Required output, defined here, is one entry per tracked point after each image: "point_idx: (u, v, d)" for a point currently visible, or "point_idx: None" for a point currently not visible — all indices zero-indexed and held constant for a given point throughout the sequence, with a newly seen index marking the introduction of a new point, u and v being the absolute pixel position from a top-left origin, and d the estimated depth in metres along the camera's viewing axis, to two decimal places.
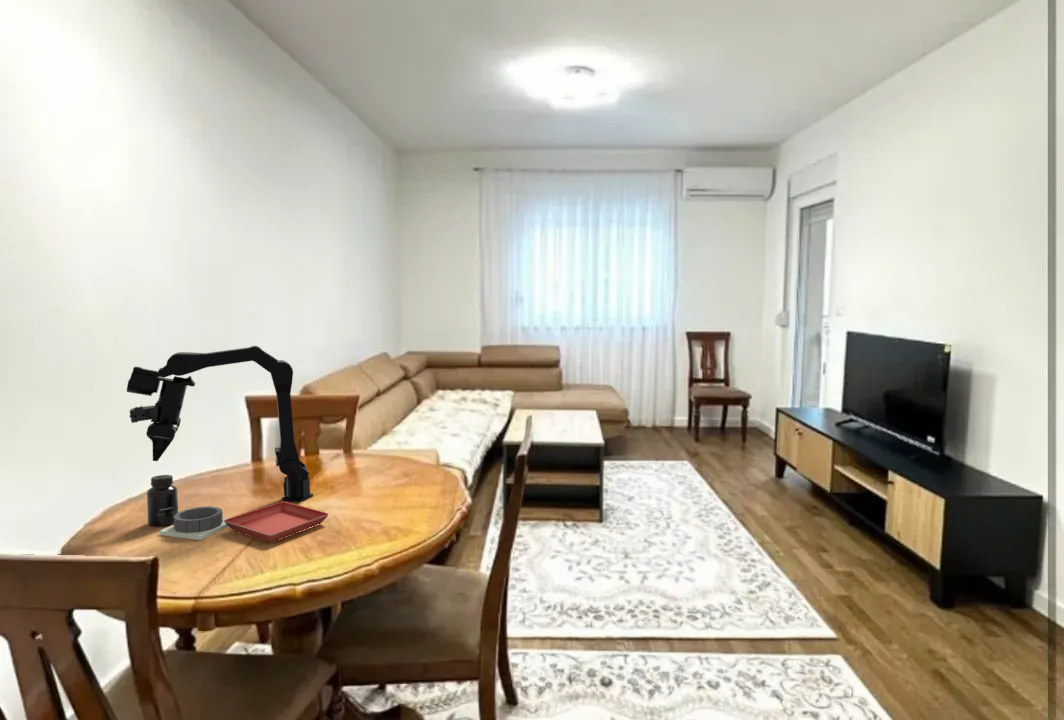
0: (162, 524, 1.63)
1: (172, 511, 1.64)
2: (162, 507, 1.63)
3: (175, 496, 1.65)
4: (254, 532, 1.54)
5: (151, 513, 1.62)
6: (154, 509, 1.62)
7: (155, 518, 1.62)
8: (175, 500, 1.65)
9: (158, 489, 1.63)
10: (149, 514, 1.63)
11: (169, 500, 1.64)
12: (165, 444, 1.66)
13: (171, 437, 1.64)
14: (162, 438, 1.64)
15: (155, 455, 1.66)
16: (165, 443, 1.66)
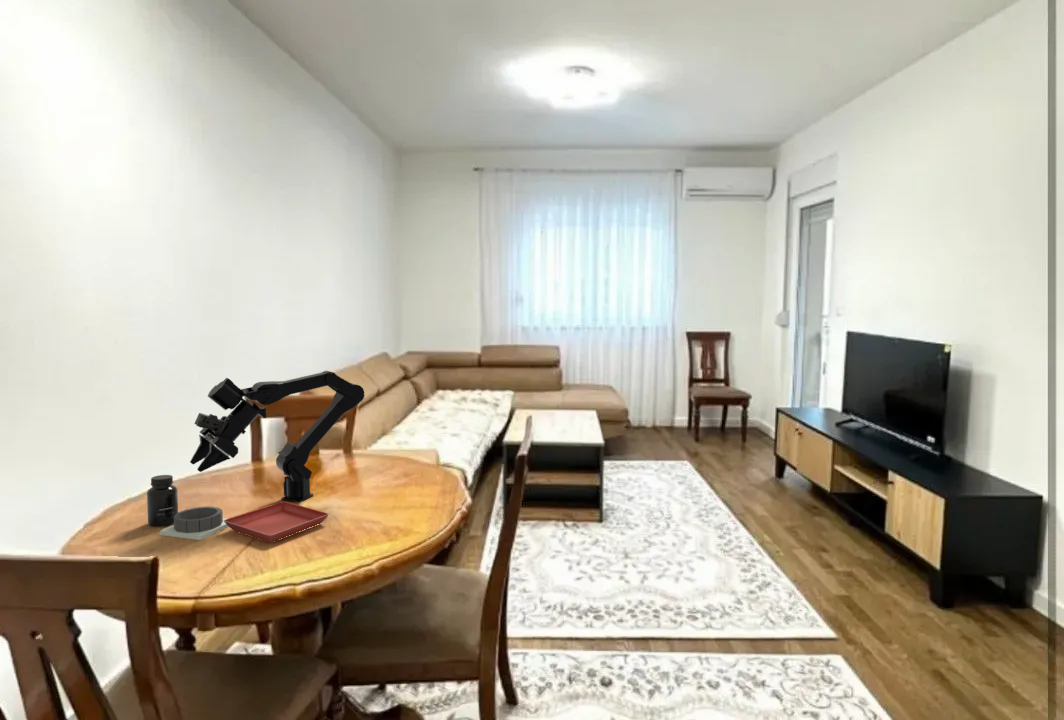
0: (162, 524, 1.63)
1: (172, 511, 1.64)
2: (162, 507, 1.63)
3: (175, 496, 1.65)
4: (254, 532, 1.54)
5: (151, 513, 1.62)
6: (154, 509, 1.62)
7: (155, 518, 1.62)
8: (175, 500, 1.65)
9: (158, 489, 1.63)
10: (149, 514, 1.63)
11: (169, 500, 1.64)
12: (219, 460, 1.67)
13: (232, 456, 1.66)
14: (223, 453, 1.66)
15: (202, 466, 1.66)
16: (219, 459, 1.67)
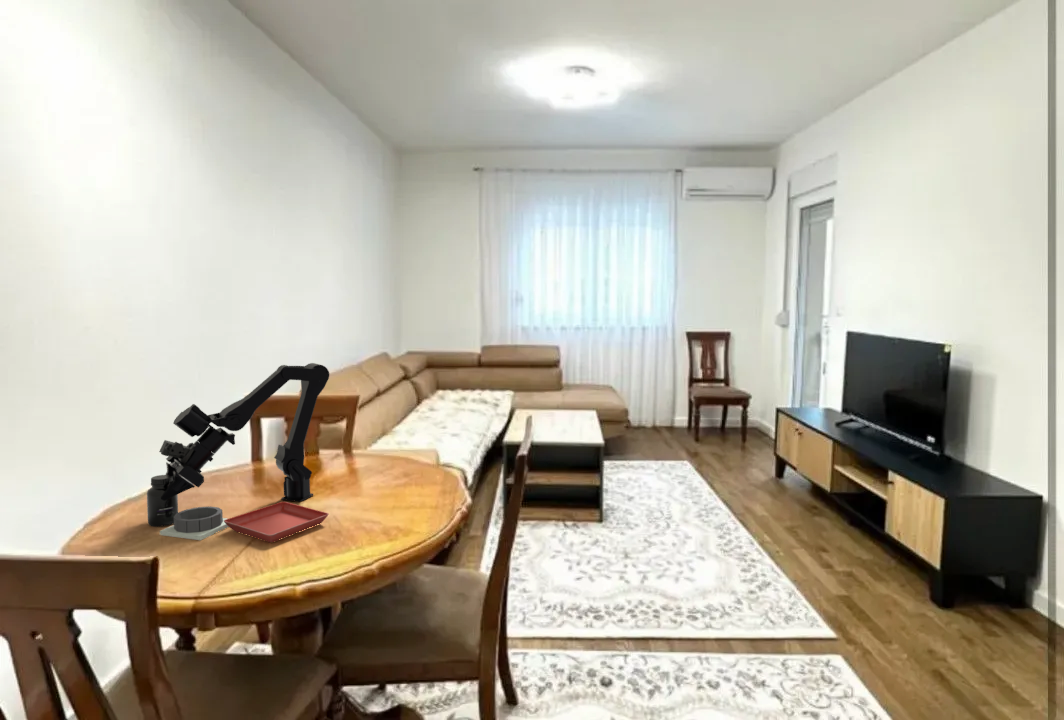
0: (162, 524, 1.63)
1: (172, 511, 1.64)
2: (162, 507, 1.63)
3: (175, 496, 1.65)
4: (254, 532, 1.54)
5: (151, 513, 1.62)
6: (154, 509, 1.62)
7: (155, 518, 1.62)
8: (175, 500, 1.65)
9: (158, 489, 1.63)
10: (149, 514, 1.63)
11: (169, 500, 1.64)
12: (183, 488, 1.63)
13: (198, 485, 1.62)
14: (187, 482, 1.62)
15: (166, 494, 1.62)
16: (184, 487, 1.63)
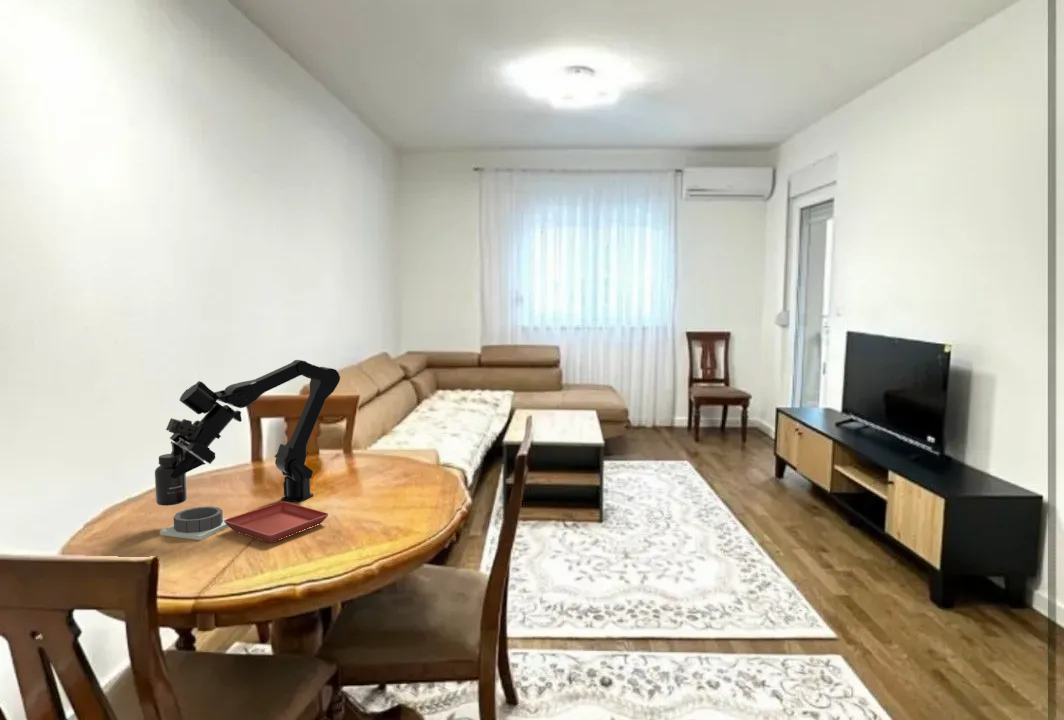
0: (172, 503, 1.61)
1: (182, 489, 1.63)
2: (171, 486, 1.61)
3: (184, 474, 1.63)
4: (254, 532, 1.54)
5: (160, 492, 1.60)
6: (163, 488, 1.60)
7: (165, 497, 1.60)
8: (184, 478, 1.64)
9: (167, 468, 1.61)
10: (158, 493, 1.61)
11: (179, 478, 1.62)
12: (193, 465, 1.62)
13: (209, 462, 1.61)
14: (198, 459, 1.61)
15: (176, 472, 1.60)
16: (194, 464, 1.62)
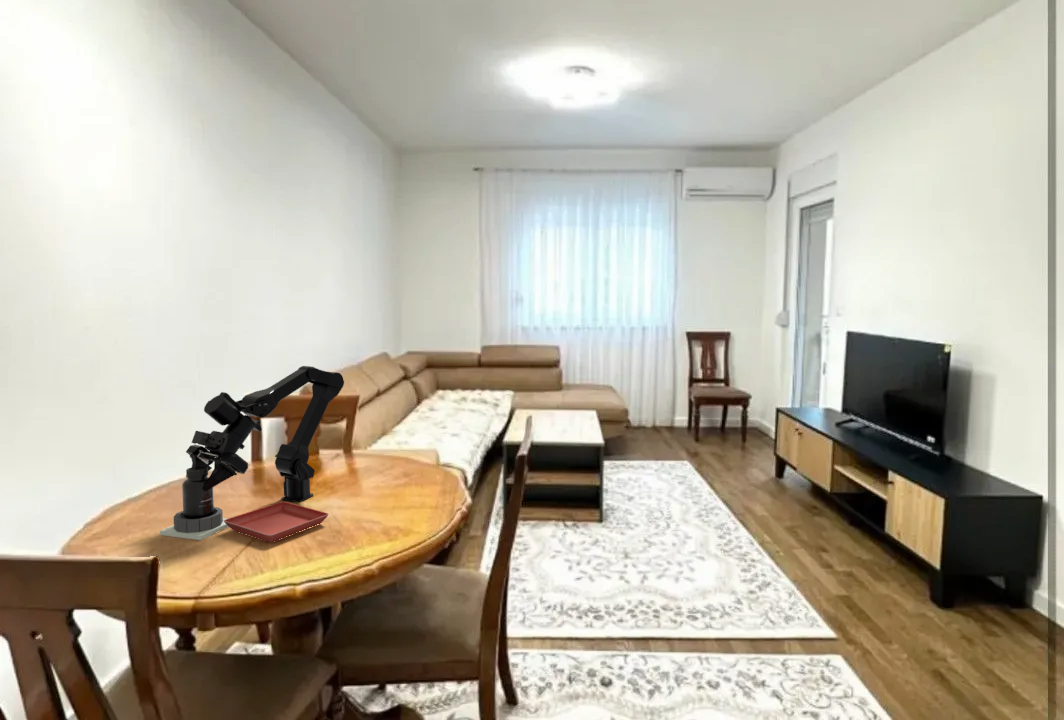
0: (203, 516, 1.59)
1: (211, 502, 1.61)
2: (203, 499, 1.59)
3: None
4: (254, 532, 1.54)
5: (191, 506, 1.58)
6: (195, 502, 1.58)
7: (197, 510, 1.58)
8: (212, 491, 1.62)
9: (198, 481, 1.59)
10: (188, 507, 1.58)
11: (209, 491, 1.60)
12: (224, 477, 1.61)
13: (244, 472, 1.61)
14: (231, 470, 1.61)
15: (208, 485, 1.59)
16: (225, 476, 1.61)
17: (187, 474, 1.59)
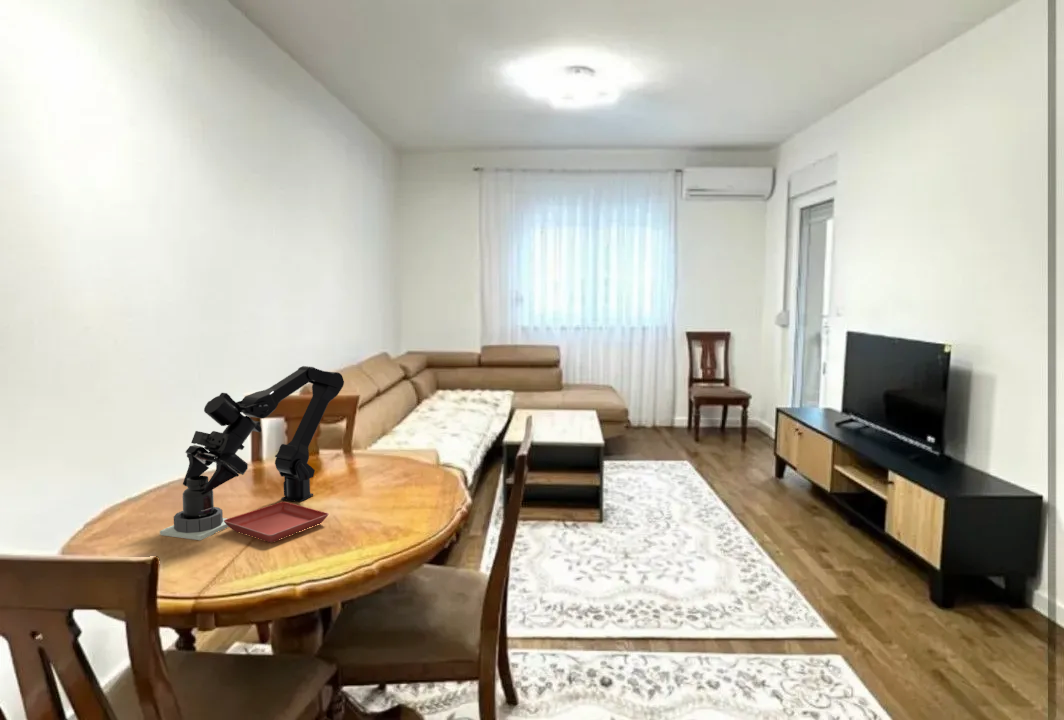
0: None
1: (212, 511, 1.61)
2: (203, 508, 1.59)
3: None
4: (254, 532, 1.54)
5: (191, 515, 1.58)
6: (195, 511, 1.58)
7: None
8: None
9: (198, 490, 1.59)
10: (188, 516, 1.58)
11: (210, 500, 1.60)
12: (226, 478, 1.61)
13: (243, 473, 1.61)
14: (233, 471, 1.60)
15: (210, 486, 1.58)
16: (227, 477, 1.61)
17: (187, 483, 1.59)
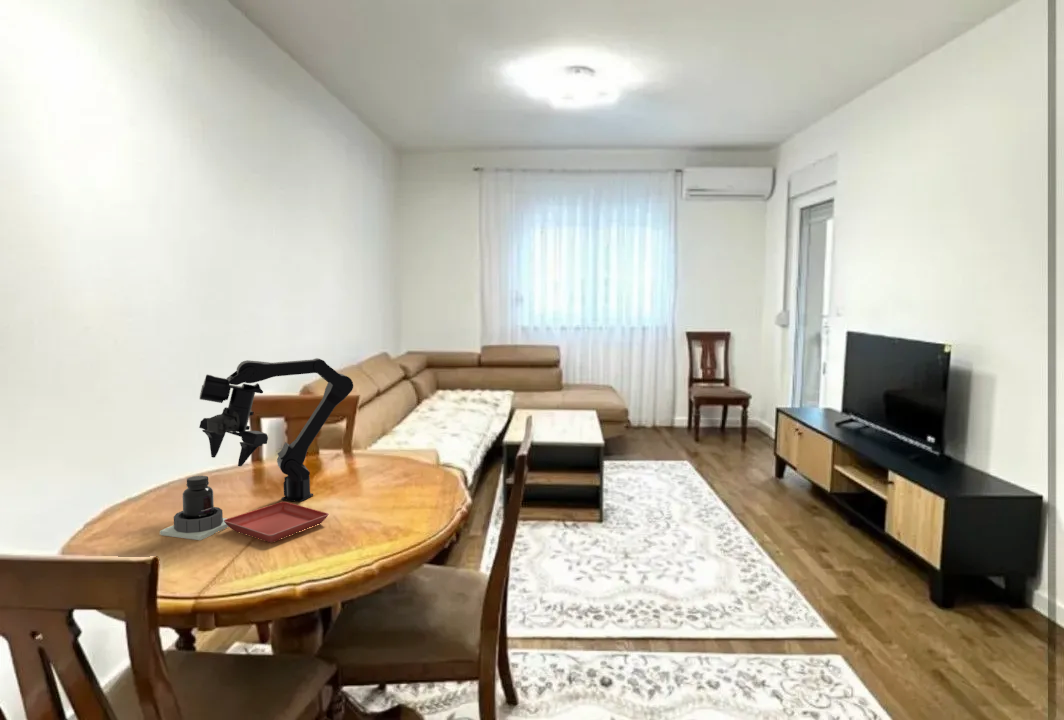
0: None
1: (212, 511, 1.61)
2: (203, 508, 1.59)
3: None
4: (254, 532, 1.54)
5: (191, 515, 1.58)
6: (195, 511, 1.58)
7: None
8: None
9: (198, 490, 1.59)
10: (188, 516, 1.58)
11: (210, 500, 1.60)
12: (252, 449, 1.77)
13: (266, 442, 1.77)
14: (257, 444, 1.75)
15: (242, 461, 1.75)
16: (253, 448, 1.76)
17: (187, 483, 1.59)
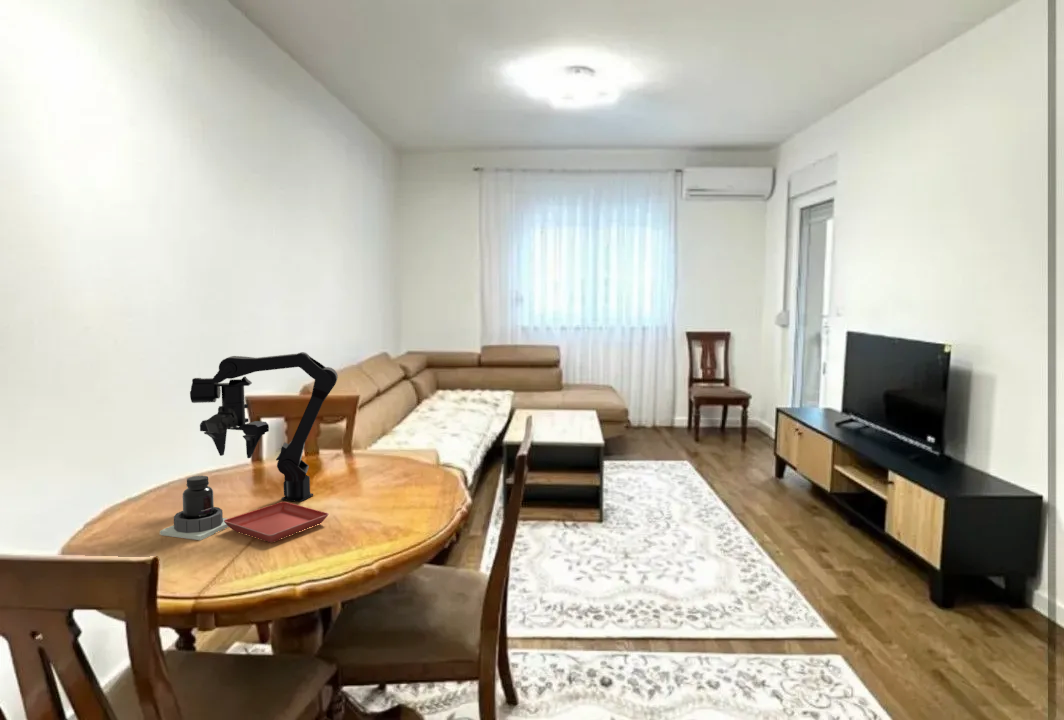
0: None
1: (212, 511, 1.61)
2: (203, 508, 1.59)
3: None
4: (254, 532, 1.54)
5: (191, 515, 1.58)
6: (195, 511, 1.58)
7: None
8: None
9: (198, 490, 1.59)
10: (188, 516, 1.58)
11: (210, 500, 1.60)
12: (257, 439, 1.81)
13: (268, 430, 1.81)
14: (260, 434, 1.79)
15: (250, 453, 1.80)
16: (257, 438, 1.81)
17: (187, 483, 1.59)
